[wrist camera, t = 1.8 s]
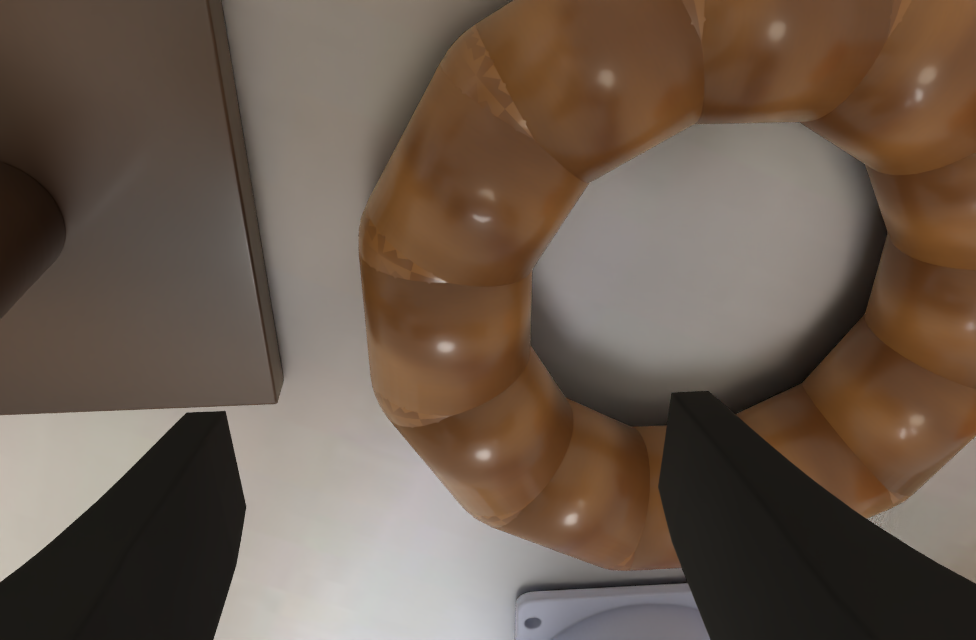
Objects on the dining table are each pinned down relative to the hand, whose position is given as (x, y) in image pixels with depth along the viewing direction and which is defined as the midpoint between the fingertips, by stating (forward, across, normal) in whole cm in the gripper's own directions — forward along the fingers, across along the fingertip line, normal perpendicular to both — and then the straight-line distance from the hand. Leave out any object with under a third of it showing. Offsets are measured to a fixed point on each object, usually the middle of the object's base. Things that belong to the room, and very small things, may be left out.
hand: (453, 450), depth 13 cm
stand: (+7, +9, -2) cm, 11 cm away
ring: (+5, -6, 0) cm, 8 cm away
